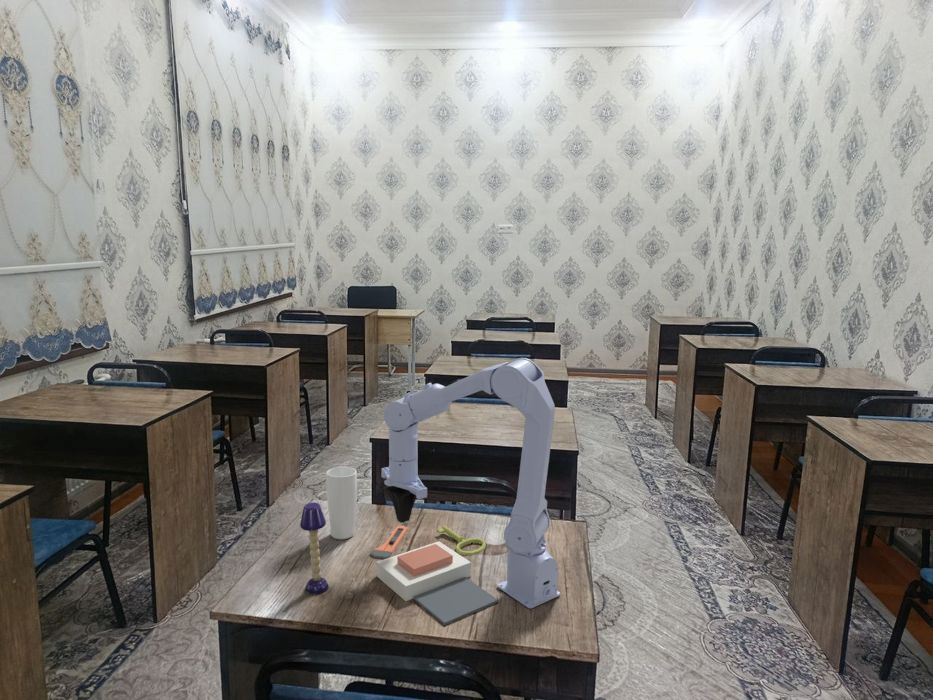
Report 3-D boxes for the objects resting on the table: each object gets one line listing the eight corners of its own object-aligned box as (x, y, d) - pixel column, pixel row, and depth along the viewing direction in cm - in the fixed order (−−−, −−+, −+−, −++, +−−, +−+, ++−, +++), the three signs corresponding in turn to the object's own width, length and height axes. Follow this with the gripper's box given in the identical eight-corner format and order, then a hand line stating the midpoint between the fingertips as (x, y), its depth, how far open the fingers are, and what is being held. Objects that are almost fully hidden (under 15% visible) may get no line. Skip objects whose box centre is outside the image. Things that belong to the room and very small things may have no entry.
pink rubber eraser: (452, 562, 123) (452, 555, 122) (413, 576, 117) (413, 569, 117) (435, 550, 127) (435, 543, 127) (397, 563, 122) (397, 556, 122)
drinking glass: (321, 539, 138) (319, 475, 136) (336, 526, 144) (335, 464, 142) (349, 544, 136) (348, 478, 134) (363, 530, 142) (362, 468, 140)
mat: (498, 602, 114) (498, 599, 114) (444, 625, 107) (444, 622, 107) (465, 579, 122) (465, 576, 122) (413, 599, 115) (413, 596, 115)
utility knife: (368, 554, 130) (394, 518, 148) (368, 558, 130) (394, 522, 148) (388, 556, 130) (412, 520, 147) (388, 560, 130) (412, 524, 147)
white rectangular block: (470, 576, 123) (470, 562, 123) (405, 601, 114) (405, 586, 114) (439, 554, 132) (439, 541, 132) (376, 576, 123) (376, 561, 123)
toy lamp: (302, 596, 116) (299, 511, 113) (302, 583, 120) (299, 501, 117) (329, 592, 117) (326, 508, 114) (327, 580, 121) (325, 498, 119)
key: (442, 532, 143) (443, 524, 143) (489, 547, 137) (489, 538, 136) (424, 545, 137) (424, 536, 137) (472, 560, 131) (473, 551, 130)
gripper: (368, 451, 129) (369, 513, 131) (405, 471, 117) (405, 539, 120) (397, 444, 133) (397, 505, 135) (436, 464, 122) (435, 529, 124)
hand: (403, 520), depth 128 cm, fingers closed
